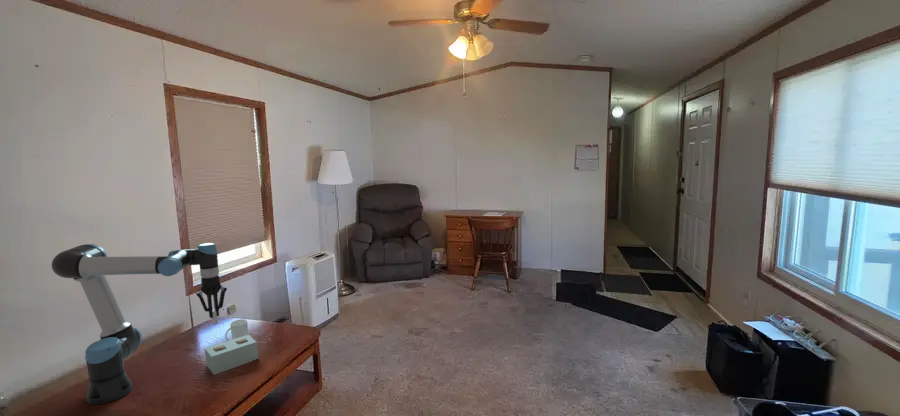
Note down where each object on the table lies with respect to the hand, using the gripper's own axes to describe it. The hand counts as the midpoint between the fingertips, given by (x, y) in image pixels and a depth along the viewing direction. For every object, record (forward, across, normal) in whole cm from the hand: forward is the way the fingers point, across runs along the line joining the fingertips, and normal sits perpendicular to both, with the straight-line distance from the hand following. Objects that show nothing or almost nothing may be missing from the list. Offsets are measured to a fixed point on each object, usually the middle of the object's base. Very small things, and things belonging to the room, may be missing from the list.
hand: (215, 323), depth 195 cm
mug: (+22, +13, +17) cm, 31 cm away
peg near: (+21, +1, -2) cm, 21 cm away
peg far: (+21, +11, -2) cm, 23 cm away
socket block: (+21, +6, -2) cm, 22 cm away
